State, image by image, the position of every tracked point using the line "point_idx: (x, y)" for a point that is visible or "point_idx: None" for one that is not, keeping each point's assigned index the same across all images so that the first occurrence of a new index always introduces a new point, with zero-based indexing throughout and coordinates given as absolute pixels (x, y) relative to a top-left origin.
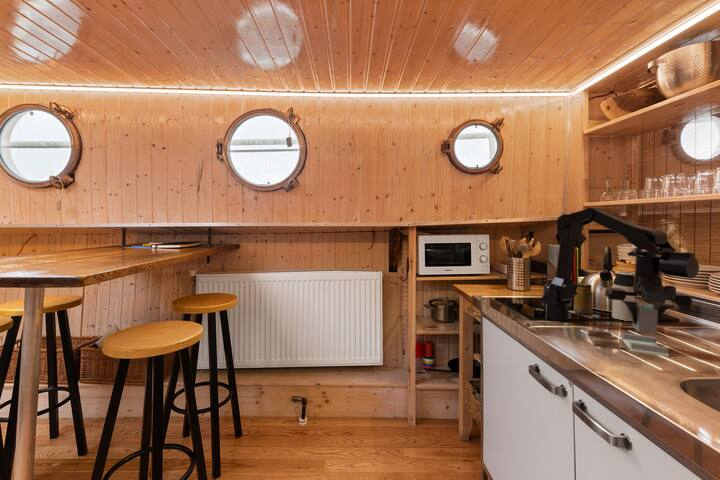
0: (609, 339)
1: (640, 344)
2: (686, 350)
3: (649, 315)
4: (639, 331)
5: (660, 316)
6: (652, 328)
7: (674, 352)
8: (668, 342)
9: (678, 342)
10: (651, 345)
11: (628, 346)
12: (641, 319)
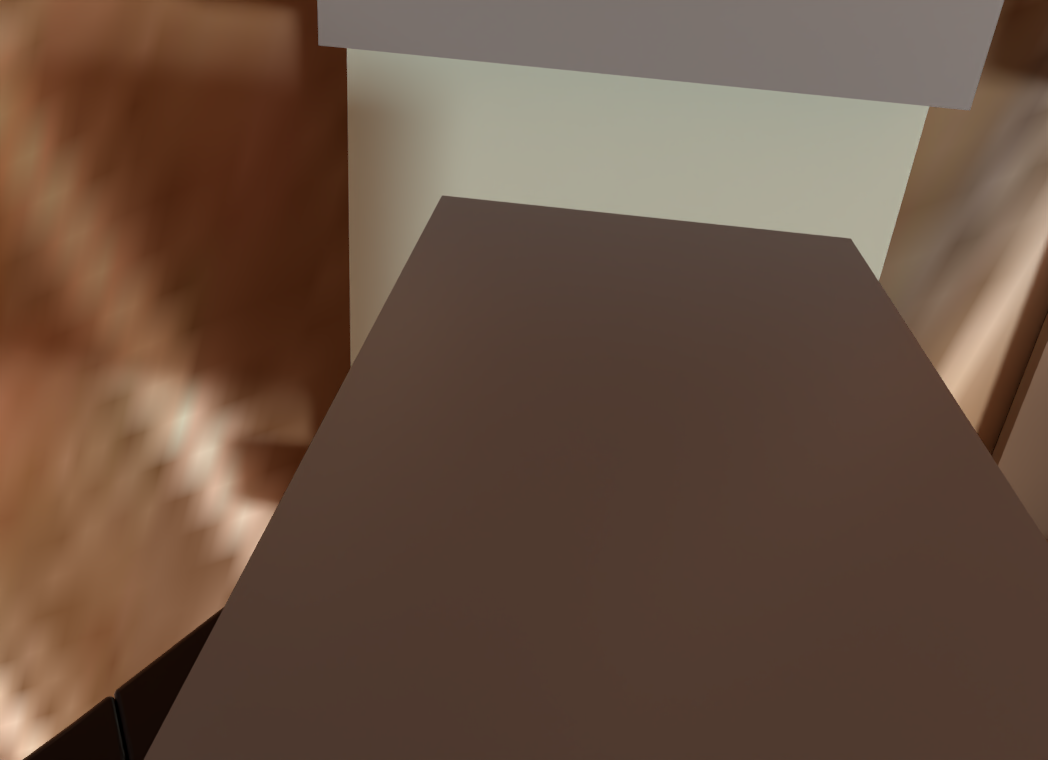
0: (1029, 488)
1: (810, 18)
2: (2, 391)
3: (638, 555)
4: (837, 242)
5: (118, 706)
6: (523, 266)
7: (184, 226)
8: (157, 643)
9: (41, 676)
10: (587, 39)
11: (894, 190)
12: (909, 447)
